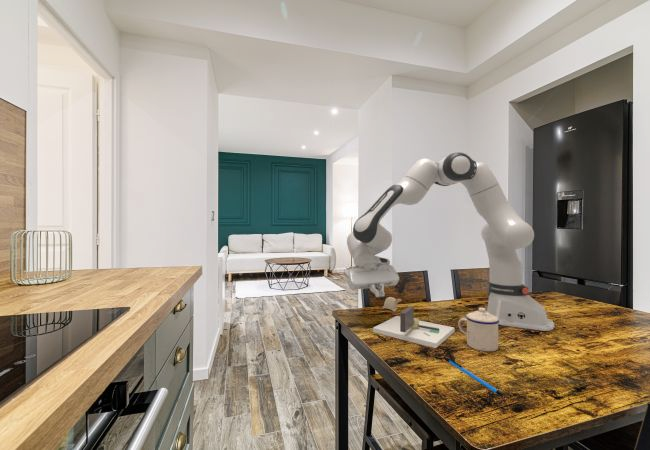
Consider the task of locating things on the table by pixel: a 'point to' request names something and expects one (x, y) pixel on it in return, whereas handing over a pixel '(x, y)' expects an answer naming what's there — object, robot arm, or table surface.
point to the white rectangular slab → (415, 332)
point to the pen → (474, 376)
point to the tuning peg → (410, 320)
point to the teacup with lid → (481, 330)
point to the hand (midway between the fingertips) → (380, 295)
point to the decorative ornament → (391, 303)
